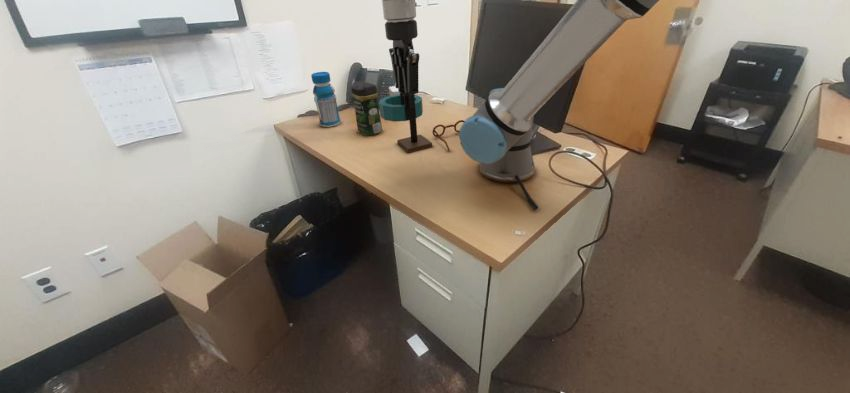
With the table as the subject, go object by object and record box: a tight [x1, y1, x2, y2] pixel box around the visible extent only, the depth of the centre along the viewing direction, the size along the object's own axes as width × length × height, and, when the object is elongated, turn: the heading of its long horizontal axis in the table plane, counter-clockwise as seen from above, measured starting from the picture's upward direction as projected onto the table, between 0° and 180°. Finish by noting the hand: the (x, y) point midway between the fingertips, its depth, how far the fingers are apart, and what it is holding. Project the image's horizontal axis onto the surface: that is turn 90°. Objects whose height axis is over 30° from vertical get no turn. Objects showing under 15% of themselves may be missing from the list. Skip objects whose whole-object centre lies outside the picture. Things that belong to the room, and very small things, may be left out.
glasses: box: [432, 119, 465, 152], centre depth 119 cm, size 13×13×5 cm
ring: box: [378, 94, 424, 122], centre depth 96 cm, size 12×12×4 cm
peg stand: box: [396, 118, 433, 154], centre depth 116 cm, size 9×9×14 cm
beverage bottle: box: [311, 71, 341, 128], centre depth 137 cm, size 8×8×20 cm
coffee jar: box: [350, 80, 383, 137], centre depth 127 cm, size 10×8×19 cm
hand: (409, 117), depth 93 cm, fingers closed on ring, 2 cm apart
